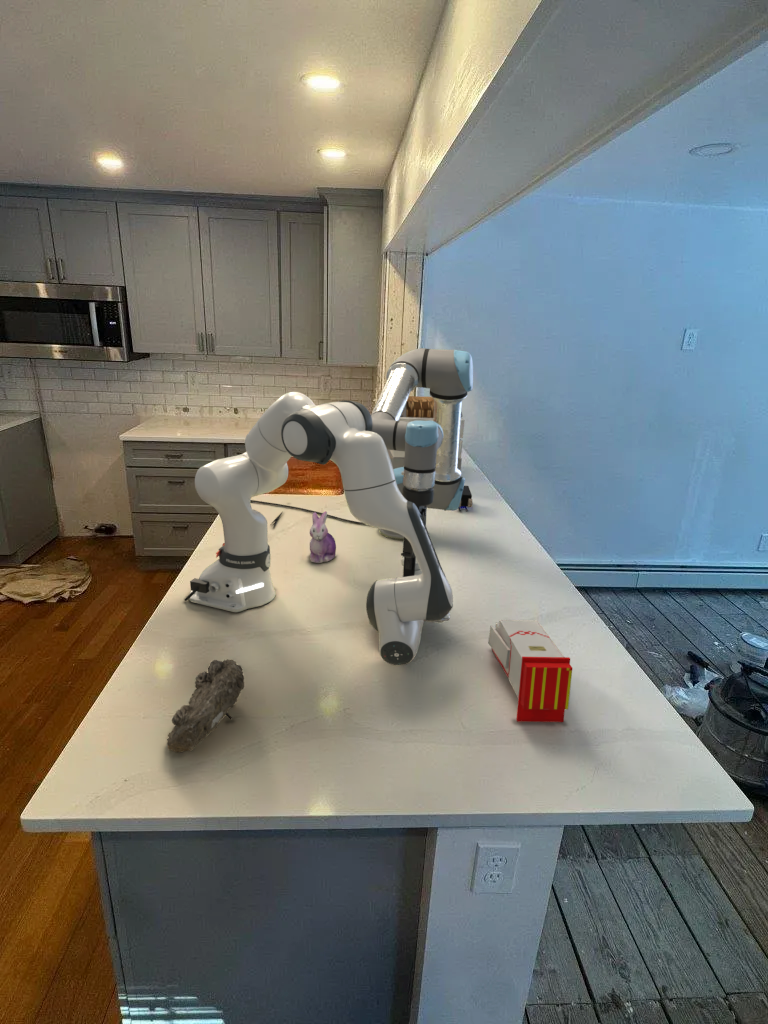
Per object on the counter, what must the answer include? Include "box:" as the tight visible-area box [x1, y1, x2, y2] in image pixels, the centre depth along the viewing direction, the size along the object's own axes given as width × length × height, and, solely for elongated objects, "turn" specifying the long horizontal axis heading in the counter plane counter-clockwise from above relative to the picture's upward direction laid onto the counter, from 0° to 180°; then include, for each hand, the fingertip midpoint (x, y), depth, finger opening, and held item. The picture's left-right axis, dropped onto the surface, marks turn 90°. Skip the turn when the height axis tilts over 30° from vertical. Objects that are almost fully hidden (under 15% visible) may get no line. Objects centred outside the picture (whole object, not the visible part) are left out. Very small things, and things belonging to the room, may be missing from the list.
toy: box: [488, 619, 573, 723], centre depth 122 cm, size 12×13×30 cm
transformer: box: [388, 395, 465, 472], centre depth 268 cm, size 34×33×41 cm
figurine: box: [309, 510, 337, 564], centre depth 176 cm, size 9×10×15 cm
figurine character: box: [457, 485, 473, 512], centre depth 229 cm, size 7×8×15 cm
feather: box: [270, 512, 283, 529], centre depth 212 cm, size 2×28×2 cm
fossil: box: [166, 658, 245, 754], centre depth 106 cm, size 22×10×15 cm
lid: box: [400, 556, 420, 569], centre depth 143 cm, size 6×6×2 cm
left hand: (411, 589), depth 146 cm, fingers closed on jar, 5 cm apart
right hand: (412, 572), depth 144 cm, fingers open, 8 cm apart
